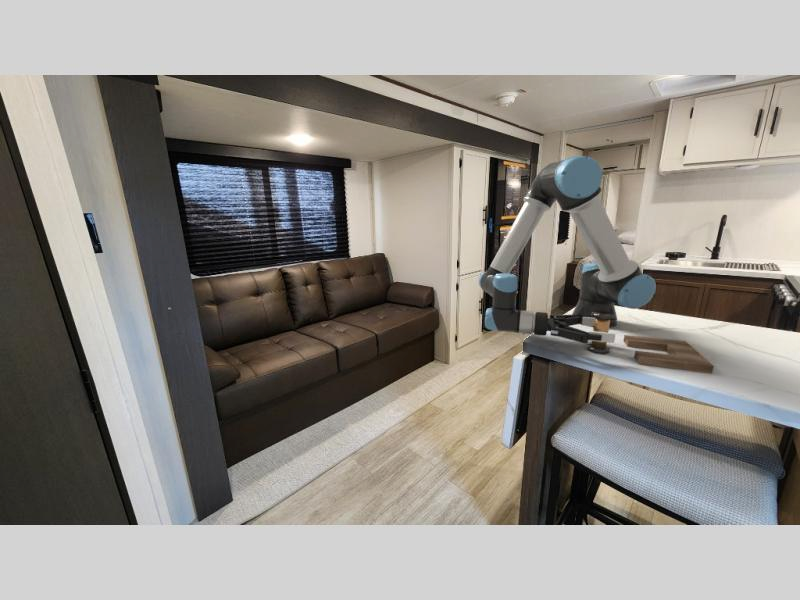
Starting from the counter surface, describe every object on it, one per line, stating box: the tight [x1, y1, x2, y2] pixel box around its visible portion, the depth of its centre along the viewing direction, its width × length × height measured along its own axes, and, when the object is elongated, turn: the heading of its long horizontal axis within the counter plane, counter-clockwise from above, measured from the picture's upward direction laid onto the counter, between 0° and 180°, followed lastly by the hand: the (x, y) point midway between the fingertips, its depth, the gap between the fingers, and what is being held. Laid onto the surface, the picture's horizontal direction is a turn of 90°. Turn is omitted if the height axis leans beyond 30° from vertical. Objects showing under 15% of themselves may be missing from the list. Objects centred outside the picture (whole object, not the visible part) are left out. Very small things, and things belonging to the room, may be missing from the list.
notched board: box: [623, 334, 715, 374], centre depth 95 cm, size 18×16×2 cm
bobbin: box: [586, 311, 615, 355], centre depth 98 cm, size 6×6×12 cm
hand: (609, 330), depth 97 cm, fingers open, 13 cm apart
